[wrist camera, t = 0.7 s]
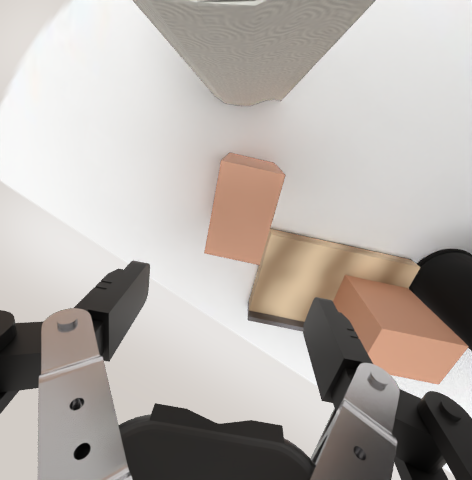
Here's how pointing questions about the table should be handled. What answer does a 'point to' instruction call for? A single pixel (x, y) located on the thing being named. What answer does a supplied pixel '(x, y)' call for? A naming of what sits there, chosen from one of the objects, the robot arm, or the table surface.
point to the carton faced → (399, 330)
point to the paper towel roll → (252, 40)
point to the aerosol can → (447, 289)
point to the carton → (243, 208)
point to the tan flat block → (314, 275)
